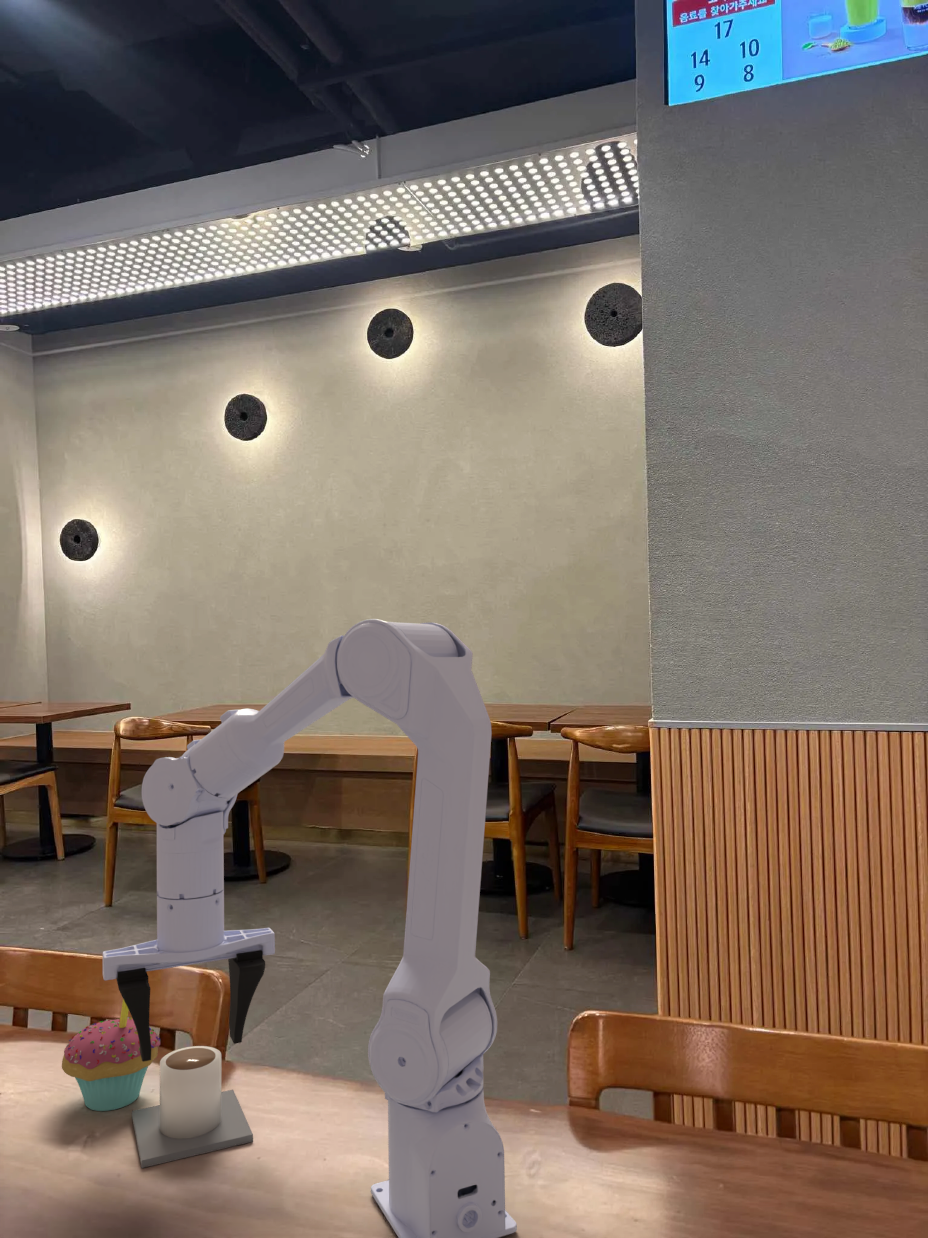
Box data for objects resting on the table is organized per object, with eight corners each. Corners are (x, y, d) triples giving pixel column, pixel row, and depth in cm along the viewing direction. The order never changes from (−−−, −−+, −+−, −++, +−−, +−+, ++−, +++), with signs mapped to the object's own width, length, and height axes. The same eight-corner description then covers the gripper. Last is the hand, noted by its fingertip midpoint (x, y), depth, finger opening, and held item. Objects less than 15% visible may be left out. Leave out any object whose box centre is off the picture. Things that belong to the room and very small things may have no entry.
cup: (227, 1128, 78) (227, 1063, 78) (165, 1145, 75) (166, 1077, 75) (213, 1102, 82) (213, 1041, 83) (154, 1117, 80) (154, 1053, 80)
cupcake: (173, 1080, 88) (173, 956, 89) (133, 1125, 80) (133, 987, 80) (90, 1077, 89) (91, 955, 90) (42, 1121, 81) (43, 985, 81)
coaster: (252, 1141, 77) (252, 1134, 77) (141, 1168, 73) (141, 1160, 73) (233, 1096, 85) (233, 1089, 85) (132, 1117, 81) (132, 1111, 81)
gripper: (262, 873, 87) (263, 1016, 86) (100, 892, 80) (100, 1047, 80) (279, 889, 80) (281, 1044, 79) (105, 911, 74) (105, 1079, 73)
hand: (191, 1048), depth 79 cm, fingers open, 7 cm apart
